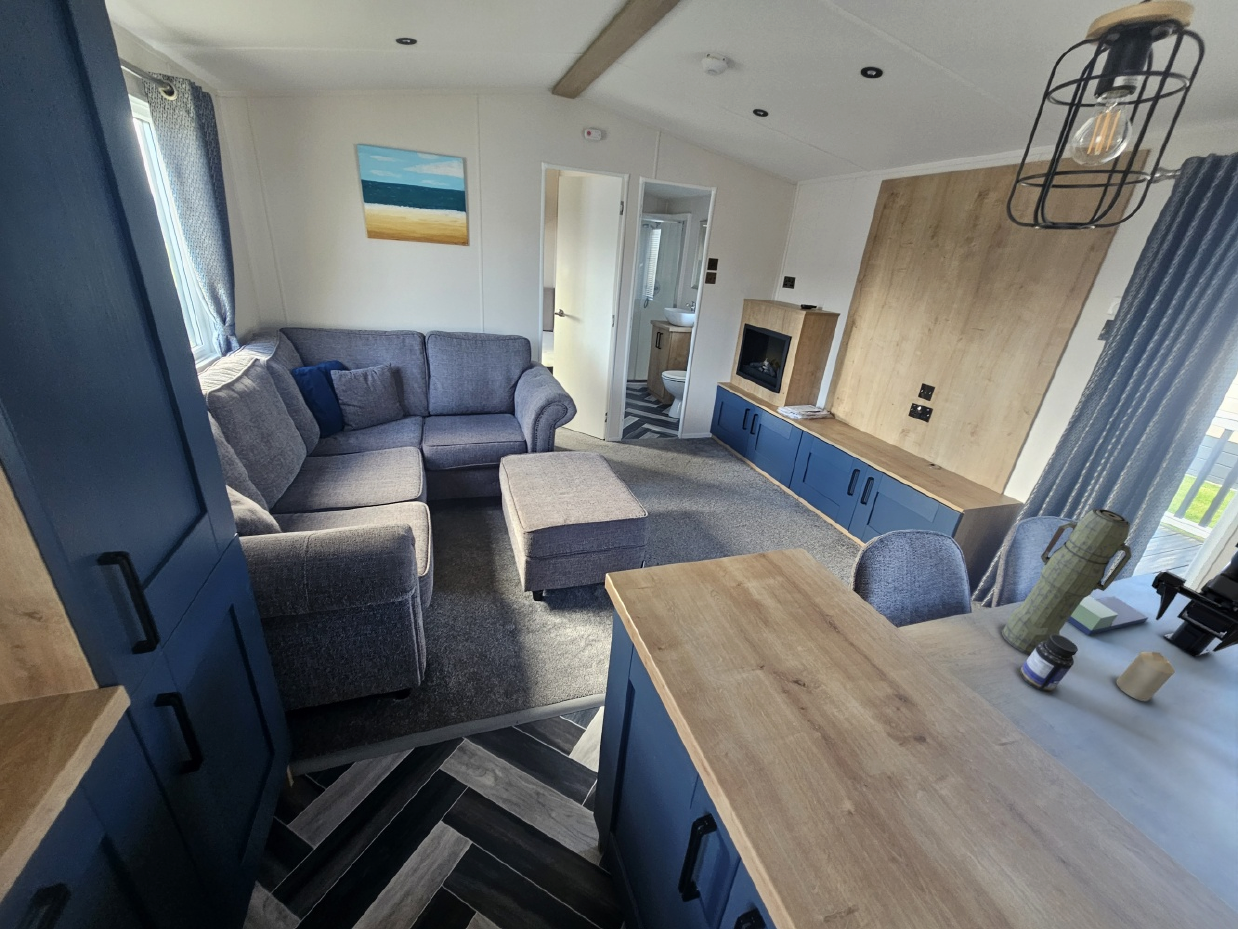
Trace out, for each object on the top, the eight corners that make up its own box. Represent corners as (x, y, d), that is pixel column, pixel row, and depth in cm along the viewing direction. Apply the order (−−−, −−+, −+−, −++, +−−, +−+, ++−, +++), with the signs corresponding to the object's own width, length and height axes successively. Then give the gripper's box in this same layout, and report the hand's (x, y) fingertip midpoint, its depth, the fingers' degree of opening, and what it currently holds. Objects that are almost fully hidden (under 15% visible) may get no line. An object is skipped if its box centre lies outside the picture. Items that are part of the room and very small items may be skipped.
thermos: (998, 617, 125) (1078, 495, 109) (1055, 648, 118) (1150, 522, 102) (989, 634, 119) (1073, 507, 103) (1050, 667, 112) (1150, 537, 96)
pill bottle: (1046, 675, 110) (1075, 638, 105) (1058, 697, 104) (1088, 659, 99) (1014, 664, 111) (1041, 627, 106) (1024, 685, 106) (1052, 647, 101)
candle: (1155, 704, 107) (1186, 671, 102) (1126, 697, 107) (1156, 664, 103) (1137, 683, 112) (1166, 651, 107) (1109, 676, 112) (1137, 643, 108)
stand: (1110, 600, 139) (1123, 584, 136) (1145, 622, 132) (1158, 606, 130) (1054, 611, 131) (1066, 595, 128) (1087, 635, 124) (1101, 618, 122)
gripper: (1187, 539, 109) (1135, 591, 109) (1317, 597, 95) (1259, 656, 95) (1176, 561, 117) (1128, 609, 116) (1296, 617, 103) (1241, 673, 102)
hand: (1184, 634), depth 107 cm, fingers open, 9 cm apart
